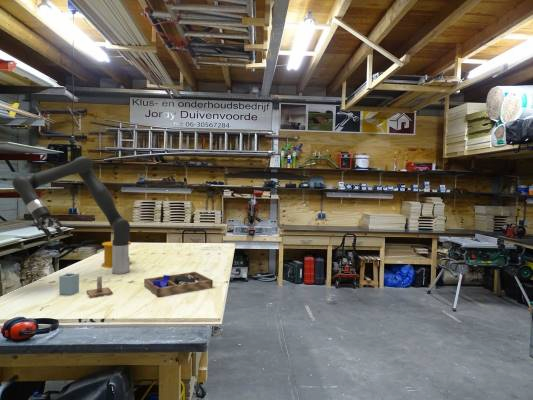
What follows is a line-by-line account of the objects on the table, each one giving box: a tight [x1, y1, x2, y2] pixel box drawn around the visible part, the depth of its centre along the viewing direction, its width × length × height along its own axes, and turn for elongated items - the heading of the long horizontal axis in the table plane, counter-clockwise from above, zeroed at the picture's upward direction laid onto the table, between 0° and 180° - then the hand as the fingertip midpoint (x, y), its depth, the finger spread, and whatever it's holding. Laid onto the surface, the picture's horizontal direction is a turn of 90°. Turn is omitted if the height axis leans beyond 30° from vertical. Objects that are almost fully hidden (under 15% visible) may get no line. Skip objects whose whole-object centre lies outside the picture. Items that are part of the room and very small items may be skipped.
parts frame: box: [143, 271, 214, 298], centre depth 184 cm, size 30×21×4 cm
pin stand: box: [85, 276, 114, 299], centre depth 170 cm, size 10×10×8 cm
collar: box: [58, 272, 80, 296], centre depth 170 cm, size 6×6×9 cm
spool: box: [101, 240, 132, 269], centre depth 232 cm, size 18×18×15 cm
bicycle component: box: [173, 275, 200, 285], centre depth 187 cm, size 12×7×15 cm
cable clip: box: [153, 274, 170, 288], centre depth 178 cm, size 12×4×6 cm, turn 169°
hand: (56, 235), depth 175 cm, fingers open, 8 cm apart
